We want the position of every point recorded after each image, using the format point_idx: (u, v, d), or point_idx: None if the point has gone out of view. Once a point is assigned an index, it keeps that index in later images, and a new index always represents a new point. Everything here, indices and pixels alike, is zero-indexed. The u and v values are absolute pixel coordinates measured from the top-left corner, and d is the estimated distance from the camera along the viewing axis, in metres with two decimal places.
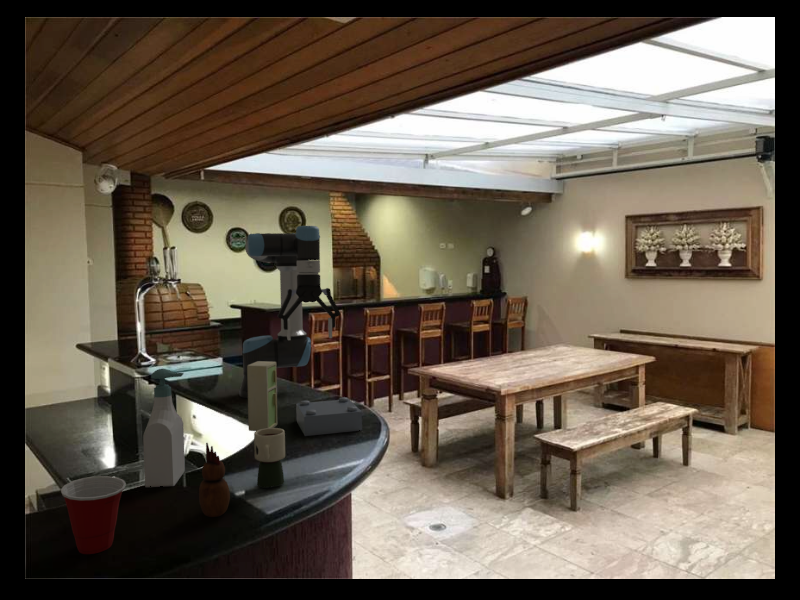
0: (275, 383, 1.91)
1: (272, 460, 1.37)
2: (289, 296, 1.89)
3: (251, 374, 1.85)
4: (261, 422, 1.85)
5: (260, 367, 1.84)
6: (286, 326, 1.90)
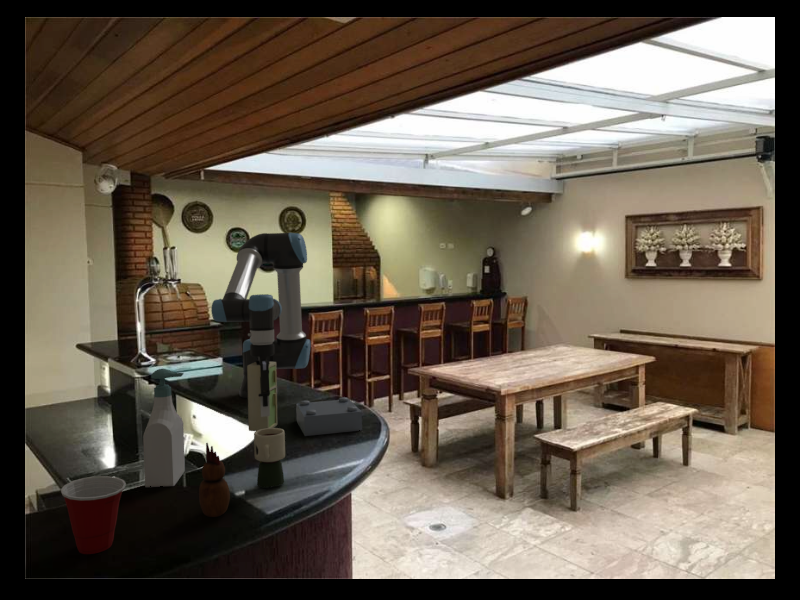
0: (275, 383, 1.91)
1: (272, 460, 1.37)
2: None
3: (251, 374, 1.85)
4: (261, 422, 1.85)
5: None
6: None
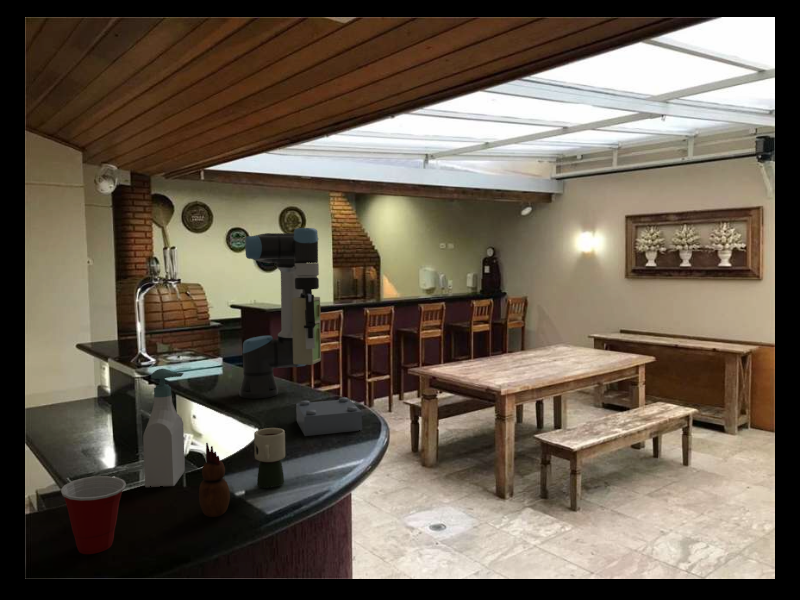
0: (319, 318, 1.91)
1: (272, 460, 1.37)
2: None
3: (295, 307, 1.85)
4: (306, 355, 1.85)
5: None
6: None
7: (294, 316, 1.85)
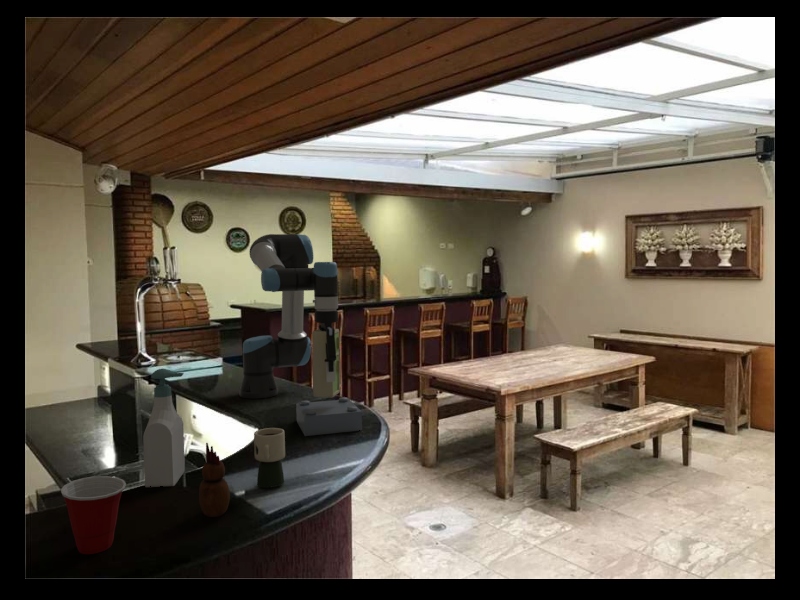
0: (338, 350, 1.92)
1: (272, 460, 1.37)
2: None
3: (316, 340, 1.86)
4: (326, 388, 1.87)
5: (325, 333, 1.85)
6: None
7: (314, 349, 1.86)
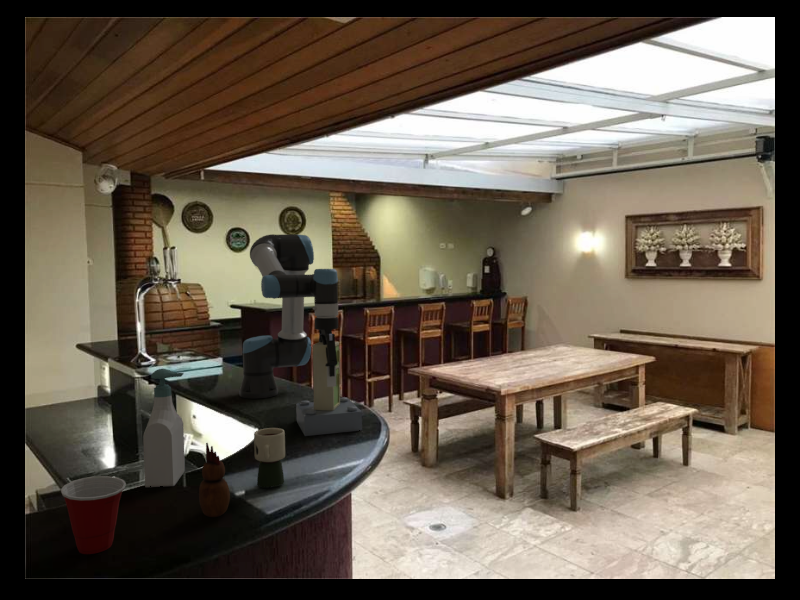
0: (338, 363, 1.92)
1: (272, 460, 1.37)
2: (319, 336, 1.96)
3: (316, 354, 1.86)
4: (327, 401, 1.87)
5: (326, 346, 1.85)
6: None
7: (315, 363, 1.86)
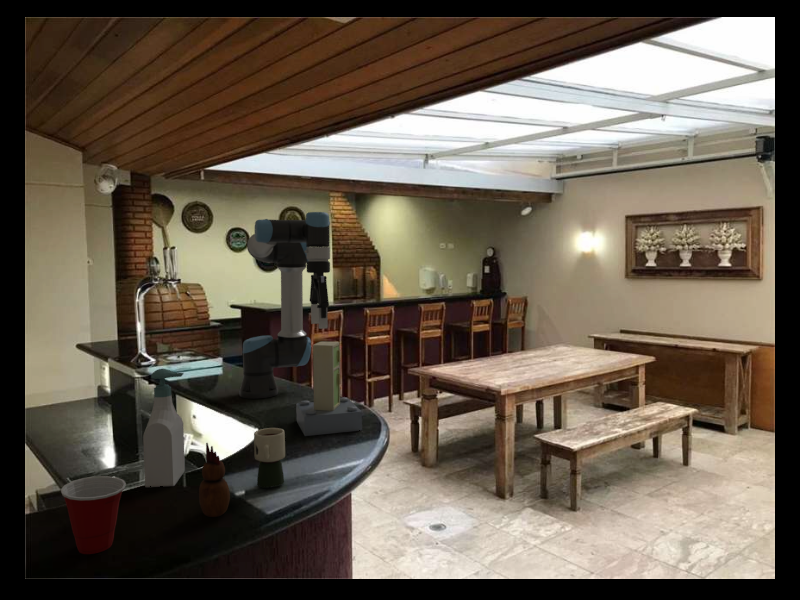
0: (338, 363, 1.92)
1: (272, 460, 1.37)
2: (311, 281, 1.96)
3: (316, 354, 1.86)
4: (327, 401, 1.87)
5: (326, 346, 1.85)
6: None
7: (315, 363, 1.86)
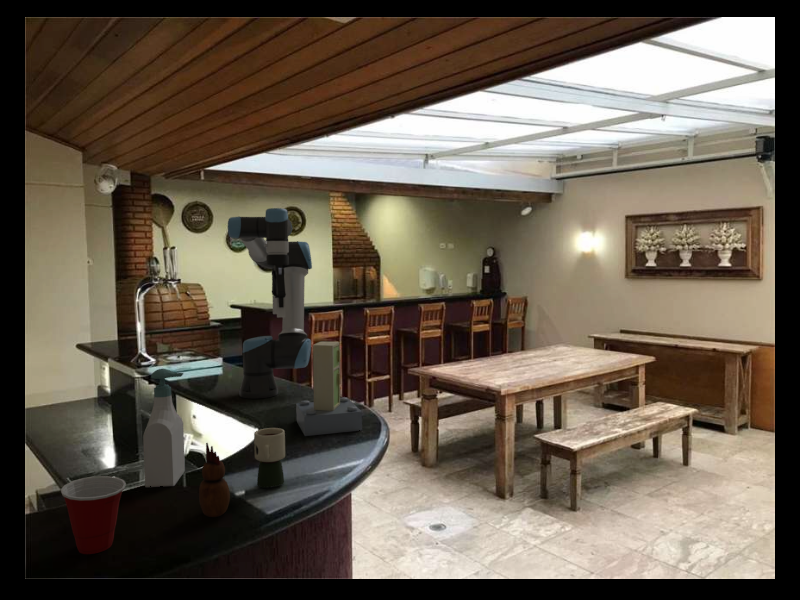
0: (338, 363, 1.92)
1: (272, 460, 1.37)
2: None
3: (316, 354, 1.86)
4: (327, 401, 1.87)
5: (326, 346, 1.85)
6: None
7: (315, 363, 1.86)
